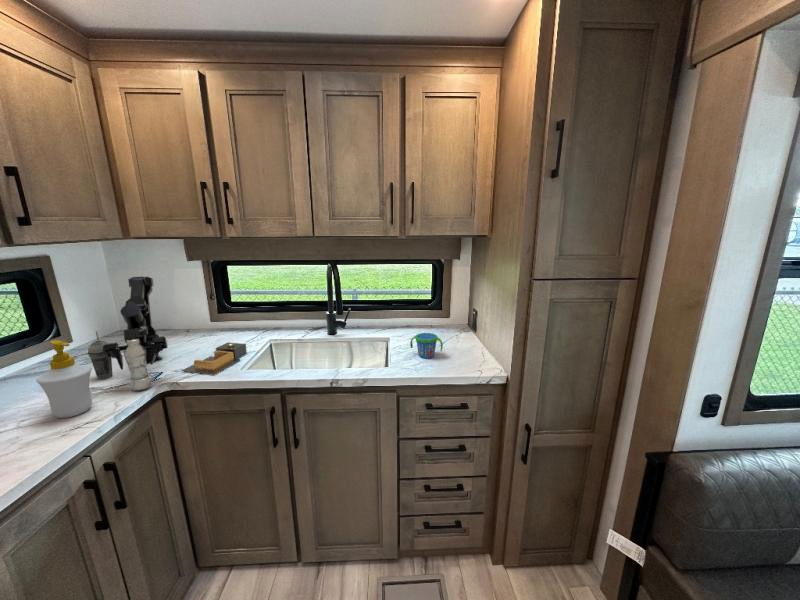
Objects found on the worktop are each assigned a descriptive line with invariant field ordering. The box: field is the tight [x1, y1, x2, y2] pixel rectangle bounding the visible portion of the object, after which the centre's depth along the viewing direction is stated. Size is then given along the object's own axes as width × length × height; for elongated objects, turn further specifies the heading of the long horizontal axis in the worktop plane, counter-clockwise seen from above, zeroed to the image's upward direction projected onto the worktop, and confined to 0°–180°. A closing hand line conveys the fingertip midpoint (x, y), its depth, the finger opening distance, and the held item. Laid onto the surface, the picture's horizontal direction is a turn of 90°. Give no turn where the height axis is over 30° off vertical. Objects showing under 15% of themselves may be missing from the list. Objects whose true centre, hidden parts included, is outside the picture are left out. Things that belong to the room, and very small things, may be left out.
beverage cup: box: [87, 330, 113, 381], centre depth 132 cm, size 7×7×20 cm
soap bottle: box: [35, 339, 93, 419], centre depth 106 cm, size 13×13×25 cm
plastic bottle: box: [123, 337, 152, 392], centre depth 122 cm, size 6×7×20 cm
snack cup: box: [409, 332, 444, 359], centre depth 157 cm, size 16×10×10 cm
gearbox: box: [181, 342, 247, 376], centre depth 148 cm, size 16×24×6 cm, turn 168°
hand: (136, 366), depth 121 cm, fingers open, 8 cm apart
